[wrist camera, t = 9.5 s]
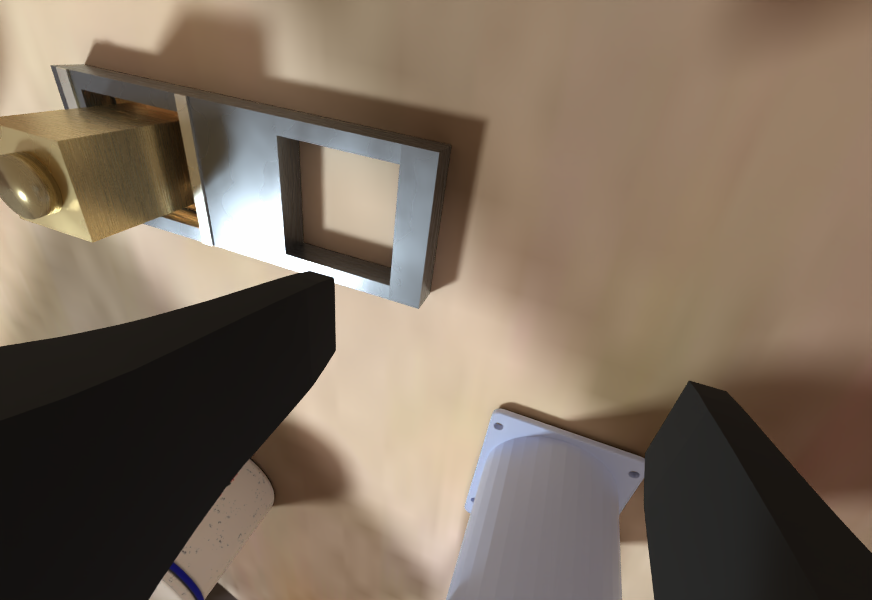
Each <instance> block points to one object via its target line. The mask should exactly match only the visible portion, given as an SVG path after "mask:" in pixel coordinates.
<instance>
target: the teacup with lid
mask: <svg viewBox="0 0 872 600" xmlns="http://www.w3.org/2000/svg"><path fill="white" fill-rule="evenodd" d="M273 503H274V491H273V488H272V485H271V483H270V481H269V480H268V478H267V477H266V475H265V474H264V473H263V471H262V470H261V469H260V468H259V467H258V466H257V465H256V464H255V463H254V462H253V461H251V460H250V459H249V460H248V461H247V462H246V463H245V465H244V466H243V467H242V468H241V469H240V471H239V472H238V473H237V474H236V476H235V477H234V478H233V479H232V481H231V482H230V483H229V484H228V486H227V487H226V488H225V490H224V491H223V492H222V494H221V495H220V497H219V498H218V499H217V501H216V502H215V504H214V505H213V506H212V508H211V509H210V510H209V512H208V513H207V515H206V516H205V517H204V519H203V520H202V522H201V523H200V524H199V526H198V527H197V529H196V530H195V531H194V533H193V534H192V536H191V537H190V539H189V540H188V542H187V543H186V545H185V546H184V548H183V549H182V550H181V552H180V553H179V555H178V556H177V558H176V559H175V561H174V562H173V564H172V565H171V567H170V568H169V570H168V571H167V573H166V574H165V575H164V577H163V578H162V580H161V581H160V583H159V584H158V586H157V588H156V589H155V591H154V592H153V594H152V595H151V597H150V599H149V600H204V599H205V598H206V596H207V595H208V594H209V592H210V591H211V590H212V588H213V587H214V586H215V584H216V583H217V581H218V580H219V579H220V577H221V576H222V575H223V573H224V572H225V570H226V569H227V568H228V566H229V565H230V564H231V562H232V561H233V559H234V558H235V557H236V555H237V554H238V553H239V551H240V550H241V548H242V547H243V546H244V544H245V543H246V542H247V540H248V539H249V537H250V536H251V535H252V533H253V532H254V530H255V529H256V528H257V526H258V525H259V524H260V522H261V521H262V519H263V518H264V517H265V515H266V514H267V513H268V511H269V510H270V508H271V507H272V505H273Z"/></svg>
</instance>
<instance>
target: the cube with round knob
mask: <svg viewBox="0 0 872 600" xmlns="http://www.w3.org/2000/svg"><path fill="white" fill-rule="evenodd" d="M0 197H1V199H2V200H3V201H4V202H5V203H6V204H7V205H8V206H9V207H10V208H11V209H12V210H13V211H14V212H16V213H17V214H19V216H20V218H21V219H23V220H26V221H29V222H33V223H36V224H39V225H42V226H45V227H48V228H51V229H54V230H57V231H60V232H63V233H66V234H69V235H72V236H75V237H78V238H81V239H84V240H87V241H90V242H95V241H97V240H100V239H103V238H105V237H108V236H111V235H113V234H116V233H119V232H121V231H124V230H127V229H129V228H132V227H135V226H137V225H140V224H143V223H145V222H148V221H151V220H153V219H156V218H159V217H161V216H164V215H166V214H169V213H172V212H174V211H177V210H180V209H182V208H185V207H188V206H190V205H193V204H195V201H194V195H193V190H192V185H191V180H190V175H189V170H188V164H187V159H186V154H185V149H184V144H183V138H182V133H181V128H180V123H179V118H178V115H174V114H170V113H165V112H161V111H157V110H153V109H149V108H144V107H140V106H136V105H132V104H127V103H120V104H111V105H101V106H92V107H83V108H74V109H65V110H56V111H47V112H38V113H29V114H20V115H11V116H2V117H0Z"/></svg>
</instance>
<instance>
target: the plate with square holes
mask: <svg viewBox="0 0 872 600" xmlns="http://www.w3.org/2000/svg"><path fill="white" fill-rule="evenodd" d="M51 68H52V71H53V74H54V77H55V80H56V83H57V87H58V90H59V93H60V96H61V99H62V102H63V105H64V108H65V109H74V108H83V107H92V106H101V105H111V104H116V103H117V104H120V103H127V104H132V105H136V106H140V107H144V108H149V109H153V110H157V111H161V112H165V113H170V114H174V115H178V118H179V123H180V128H181V133H182V138H183V144H184V149H185V154H186V159H187V164H188V170H189V175H190V180H191V185H192V190H193V195H194V201H195V204H193V205H190V206H188V208H191V209H195V210H196V211H193V210H190V209H186V208H182V209H180V210H177V211H174V212H172V213H169V214H166V215H164V216H161V217H159V218H156V219H153V220H151V221H148V222H145V223H143V224H146V225H149V226H152V227H156V228H159V229H162V230H165V231H169V232H172V233H175V234H178V235H182V236H185V237H188V238H191V239H194V240H198V241H201V242H203V243H204V244H207V245H210V246H217V247H220V248H224V249H227V250H230V251H233V252H237V253H240V254H243V255H246V256H249V257H253V258H256V259H259V260H262V261H266V262H269V263H272V264H275V265H279V266H282V267H285V268H288V269H291V270H295V271H298V272H306V271H313V272H317V273H320V274H324V275H327V276H331V277H334V281H335V283H337V284H340V285H343V286H346V287H350V288H353V289H356V290H359V291H363V292H366V293H369V294H372V295H376V296H379V297H382V298H385V299H388V300H392V301H395V302H398V303H401V304H405V305H408V306H411V307H414V308H418V309H419V308H420V306H421V305H422V304H423V302H424V301H425V299H426V298H427V296H428V295H429V294H430V288H431V281H432V274H433V268H434V261H435V254H436V247H437V240H438V233H439V226H440V220H441V213H442V206H443V199H444V192H445V185H446V179H447V172H448V165H449V158H450V151H451V145H449V144H444V143H440V142H435V141H431V140H426V139H422V138H417V137H412V136H408V135H403V134H399V133H394V132H390V131H385V130H380V129H376V128H371V127H367V126H362V125H358V124H353V123H349V122H344V121H339V120H335V119H330V118H326V117H321V116H317V115H312V114H307V113H303V112H298V111H294V110H289V109H285V108H280V107H275V106H271V105H266V104H262V103H257V102H253V101H248V100H244V99H239V98H234V97H230V96H225V95H221V94H216V93H212V92H207V91H202V90H198V89H193V88H189V87H184V86H180V85H175V84H170V83H166V82H161V81H157V80H152V79H148V78H143V77H139V76H134V75H129V74H125V73H120V72H116V71H111V70H107V69H102V68H97V67H93V66H88V65H84V64H81V65H51ZM115 99H116V100H115ZM299 141H303V142H307V143H311V144H316V145H320V146H324V147H328V148H333V149H337V150H341V151H345V152H350V153H354V154H358V155H362V156H367V157H371V158H375V159H379V160H384V161H388V162H392V163H396V164H400V169H399V181H398V193H397V205H396V217H395V229H394V241H393V254H392V266H391V268H388V267H385V266H381V265H378V264H375V263H371V262H368V261H364V260H361V259H357V258H354V257H351V256H347V255H344V254H340V253H337V252H333V251H330V250H327V249H323V248H320V247H316V246H313V245H310V244H306V243H303V222H302V201H301V180H300V158H299Z"/></svg>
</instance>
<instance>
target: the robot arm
mask: <svg viewBox="0 0 872 600" xmlns="http://www.w3.org/2000/svg"><path fill="white" fill-rule="evenodd" d="M335 351H336V335H335V281H334V277H331V276H327V275H324V274H320V273H317V272H313V271H306V272H301V273H297V274H293V275H290V276H286V277H283V278H279V279H276V280H273V281H270V282H266V283H263V284H260V285H257V286H254V287H251V288H247V289H244V290H241V291H238V292H235V293H231V294H228V295H225V296H222V297H219V298H215V299H212V300H209V301H206V302H202V303H198V304H195V305H191V306H188V307H184V308H181V309H177V310H174V311H170V312H166V313H163V314H159V315H156V316H152V317H149V318H145V319H141V320H137V321H133V322H128V323H124V324H120V325H116V326H111V327H106V328H102V329H97V330H92V331H87V332H83V333H78V334H73V335H68V336H62V337H57V338H51V339H44V340H38V341H32V342H26V343H20V344H14V345H7V346H1V347H0V600H149V599H150V597H151V595H152V594H153V592H154V591H155V589H156V588H157V586H158V584H159V583H160V581H161V580H162V578H163V577H164V575H165V574H166V573H167V571H168V570H169V568H170V567H171V565H172V564H173V562H174V561H175V559H176V558H177V556H178V555H179V553H180V552H181V550H182V549H183V548H184V546H185V545H186V543H187V542H188V540H189V539H190V537H191V536H192V534H193V533H194V531H195V530H196V529H197V527H198V526H199V524H200V523H201V522H202V520H203V519H204V517H205V516H206V515H207V513H208V512H209V510H210V509H211V508H212V506H213V505H214V504H215V502H216V501H217V499H218V498H219V497H220V495H221V494H222V492H223V491H224V490H225V488H226V487H227V486H228V484H229V483H230V482H231V481H232V479H233V478H234V477H235V476H236V474H237V473H238V472H239V471H240V469H241V468H242V467H243V466H244V465H245V463H246V462H247V461H248V460H249V459H250V458H251V457H252V455H253V454H254V453H255V452H256V451H257V450H258V449H259V447H260V446H261V445H262V444H263V443H264V442H265V441H266V439H267V438H268V437H269V436H270V435H271V434H272V433H273V431H274V430H275V429H276V428H277V427H278V426H279V425H280V423H281V422H282V421H283V420H284V419H285V418H286V417H287V416H288V414H289V413H290V412H291V411H292V410H293V409H294V407H295V406H296V405H297V404H298V403H299V402H300V400H301V399H302V398H303V397H304V396H305V395H306V393H307V392H308V391H309V390H310V389H311V387H312V386H313V385H314V383H315V382H316V380H317V379H318V377H319V376H320V374H321V373H322V371H323V370H324V368H325V367H326V365H327V364H328V362H329V360H330V359H331V357H332V356H333V354H334V353H335ZM497 423H500V424H502V425H499V424H497ZM631 471H636V472H631ZM643 479H644V511H645V521H646V530H647V539H648V549H649V557H650V566H651V574H652V583H653V591H654V600H872V553H871V552H870V551H869V550H868V549H867V548H866V547H865V545H864V544H863V543H862V542H861V541H860V540H859V539H858V538H857V537H856V536H855V535H854V534H853V533H852V532H851V530H850V529H849V528H848V527H847V526H846V525H845V524H844V523H843V522H842V521H841V520H840V519H839V517H838V516H837V515H836V514H835V513H834V512H833V511H832V510H831V509H830V508H829V506H828V505H827V504H826V503H825V502H824V501H823V500H822V499H821V498H820V496H819V495H818V494H817V493H816V492H815V491H814V490H813V488H812V487H811V486H810V485H809V484H808V483H807V482H806V481H805V479H804V478H803V477H802V476H801V475H800V474H799V473H798V471H797V470H796V469H795V468H794V467H793V466H792V465H791V463H790V462H789V461H788V460H787V459H786V458H785V457H784V455H783V454H782V453H781V452H780V451H779V450H778V448H777V447H776V446H775V445H774V444H773V443H772V442H771V440H770V439H769V438H768V437H767V436H766V435H765V433H764V432H763V431H762V430H761V429H760V428H759V427H758V425H757V424H756V423H755V422H754V421H753V420H752V419H751V417H750V416H749V415H748V414H747V413H746V412H745V411H744V410H743V408H742V407H741V406H740V405H739V404H738V403H737V402H736V401H735V400H734V399H733V398H732V397H731V396H730V395H729V394H728V393H727V392H726V391H723V390H720V389H716V388H713V387H709V386H706V385H703V384H699V383H696V382H692V381H689V382H688V383H687V385H686V387H685V388H684V390H683V392H682V393H681V395H680V397H679V398H678V400H677V401H676V403H675V405H674V406H673V408H672V410H671V411H670V413H669V415H668V416H667V418H666V420H665V421H664V423H663V425H662V426H661V428H660V430H659V431H658V433H657V435H656V436H655V438H654V439H653V441H652V443H651V444H650V446H649V448H648V449H647V451H646V453H645V458H643V457H640V456H638V455H635V454H632V453H629V452H626V451H623V450H620V449H617V448H615V447H612V446H609V445H606V444H603V443H600V442H597V441H594V440H591V439H589V438H586V437H583V436H580V435H577V434H574V433H571V432H568V431H565V430H563V429H560V428H557V427H554V426H551V425H548V424H545V423H542V422H540V421H537V420H534V419H531V418H528V417H525V416H522V415H519V414H516V413H514V412H511V411H508V410H505V409H501V408H499V409H495V410H494V411H493V413H492V417H491V420H490V423H489V427H488V430H487V433H486V437H485V440H484V443H483V447H482V450H481V453H480V457H479V460H478V463H477V467H476V470H475V473H474V477H473V480H472V483H471V487H470V490H469V493H468V497H467V500H466V503H465V509H466V510H467V511H468V512H469V513H471V514H470V517H469V521H468V524H467V528H466V531H465V535H464V538H463V542H462V545H461V549H460V552H459V556H458V559H457V563H456V566H455V570H454V573H453V577H452V580H451V584H450V587H449V591H448V594H447V598H446V600H622V585H621V556H620V526H619V514H620V513H621V511H622V510H623V508H624V507H625V505H626V504H627V502H628V501H629V499H630V498H631V496H632V495H633V494H634V492H635V491H636V489H637V488H638V486H639V485H640V483H641V482H642V480H643Z"/></svg>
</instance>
